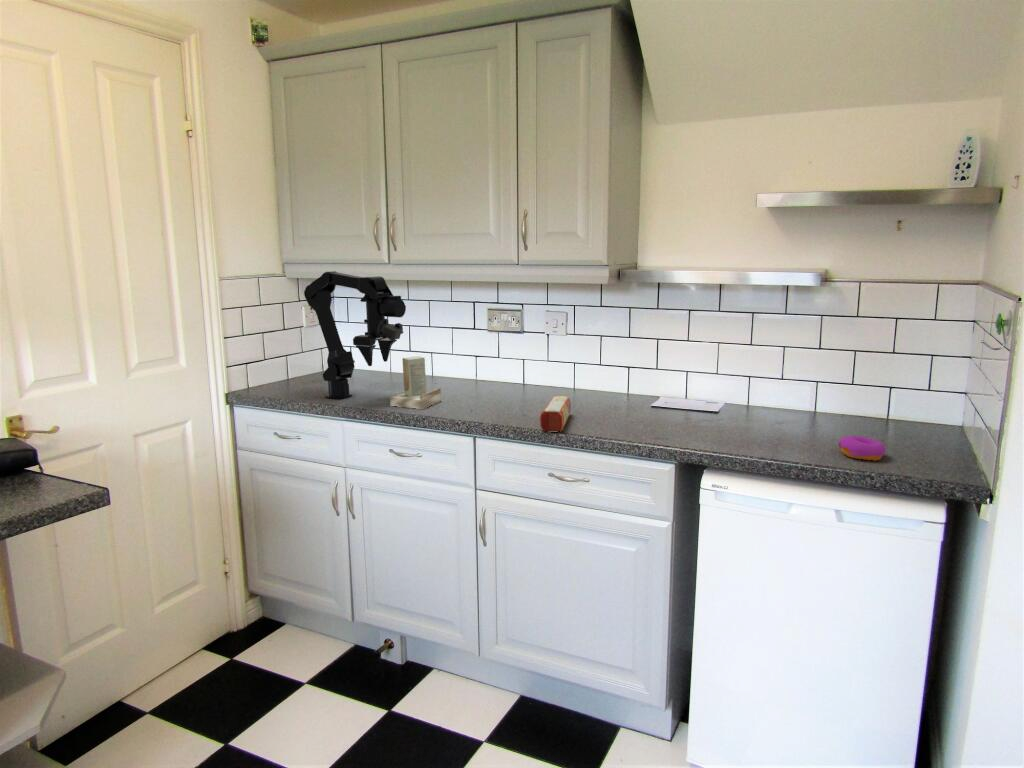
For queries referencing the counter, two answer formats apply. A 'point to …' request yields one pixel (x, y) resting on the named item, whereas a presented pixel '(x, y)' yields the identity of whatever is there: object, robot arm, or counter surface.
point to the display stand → (417, 399)
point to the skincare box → (414, 376)
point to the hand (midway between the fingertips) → (377, 363)
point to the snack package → (555, 414)
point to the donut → (862, 448)
